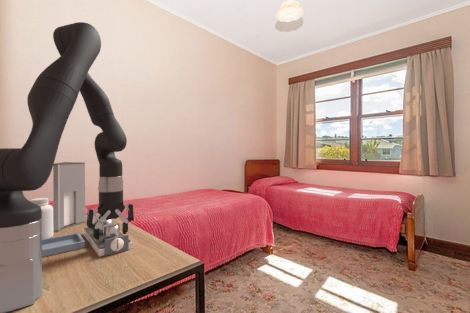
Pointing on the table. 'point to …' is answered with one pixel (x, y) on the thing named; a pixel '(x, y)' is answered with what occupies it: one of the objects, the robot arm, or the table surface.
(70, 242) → the tray
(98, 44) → the robot arm
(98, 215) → the cylinder
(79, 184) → the cabinet
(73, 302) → the table surface
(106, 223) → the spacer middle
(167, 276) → the table surface
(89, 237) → the scale
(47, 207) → the pill bottle
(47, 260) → the table surface
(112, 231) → the cylinder
